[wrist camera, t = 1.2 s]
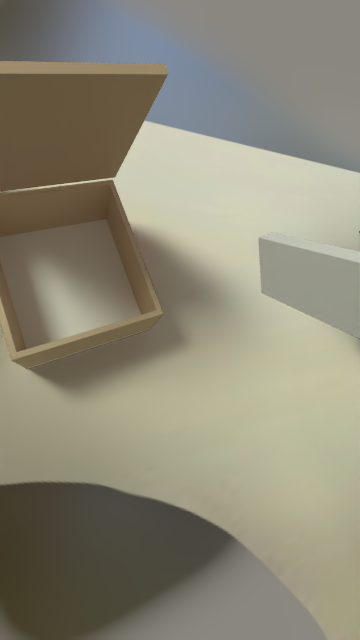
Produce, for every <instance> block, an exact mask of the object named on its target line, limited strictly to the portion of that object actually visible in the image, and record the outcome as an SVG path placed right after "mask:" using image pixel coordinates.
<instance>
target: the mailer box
mask: <svg viewBox="0 0 360 640" xmlns="http://www.w3.org/2000/svg"><path fill="white" fill-rule="evenodd" d="M162 314H163V312H162V309H161V306H160V304H159V301H158V298H157V296H156V293H155V290H154V288H153V285H152V283H151V280H150V277H149V275H148V272H147V269H146V267H145V264H144V261H143V259H142V256H141V253H140V251H139V248H138V246H137V243H136V240H135V238H134V235H133V232H132V230H131V227H130V224H129V222H128V219H127V216H126V214H125V211H124V208H123V206H122V203H121V201H120V198H119V195H118V193H117V190H116V187H115V185H114V182H113V180H107V181H99V182H91V183H83V184H75V185H67V186H59V187H51V188H43V189H34V190H26V191H18V192H10V193H2V194H0V323H1V326H2V330H3V333H4V337H5V340H6V344H7V347H8V351H9V354H10V357H11V360H12V361H14V362H15V363H17V364H19V365H21V366H23V367H24V368H26V369H29V368H32V367H35V366H38V365H41V364H44V363H47V362H50V361H53V360H57V359H60V358H63V357H66V356H69V355H72V354H75V353H78V352H81V351H85V350H88V349H91V348H94V347H97V346H100V345H103V344H106V343H109V342H112V341H116V340H119V339H122V338H125V337H128V336H131V335H134V334H137V333H140V332H143V331H147V330H150V329H151V328H152V326H153V325H154V324H155V323H156V322H157V320H158V319H159V318H160V317H161V316H162Z"/></svg>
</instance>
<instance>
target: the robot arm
mask: <svg viewBox="0 0 360 640" xmlns="http://www.w3.org/2000/svg"><path fill="white" fill-rule="evenodd" d="M259 256H260V274H261V291H262V293H263V294H265V295H267V296H269V297H271V298H274V299H276V300H278V301H280V302H282V303H284V304H286V305H288V306H291V307H293V308H295V309H297V310H299V311H301V312H303V313H305V314H308V315H310V316H312V317H314V318H316V319H318V320H320V321H322V322H325V323H327V324H329V325H331V326H333V327H335V328H337V329H339V330H342V331H344V332H346V333H348V334H350V335H352V336H354V337H357V338H359V339H360V251H355V250H351V249H346V248H341V247H337V246H332V245H328V244H323V243H318V242H314V241H309V240H304V239H300V238H295V237H291V236H286V235H281V234H277V233H269V234H267V235H264V236H261V237H259Z"/></svg>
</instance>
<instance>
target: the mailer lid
mask: <svg viewBox="0 0 360 640" xmlns="http://www.w3.org/2000/svg"><path fill="white" fill-rule="evenodd" d="M167 75H168V72H167V68H166V64H128V63H74V62H73V63H72V62H20V61H19V62H17V61H0V191H6V190H14V189H23V188H31V187H39V186H47V185H56V184H64V183H72V182H80V181H89V180H97V179H105V178H113V177H115V176H116V174H117V172H118V170H119V168H120V167H121V165H122V163H123V161H124V159H125V157H126V155H127V153H128V151H129V149H130V147H131V145H132V143H133V141H134V139H135V137H136V135H137V134H138V132H139V130H140V128H141V126H142V124H143V122H144V120H145V118H146V116H147V114H148V112H149V110H150V108H151V106H152V104H153V102H154V101H155V99H156V97H157V95H158V93H159V91H160V89H161V87H162V85H163V83H164V81H165V79H166V77H167Z"/></svg>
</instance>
